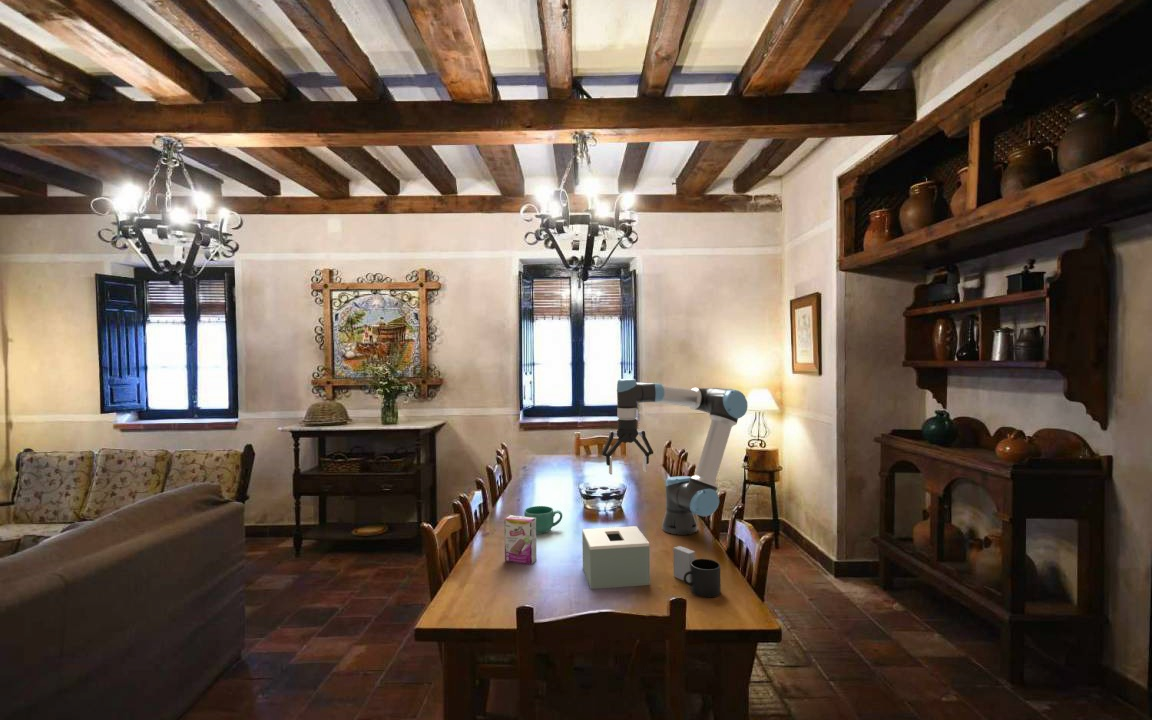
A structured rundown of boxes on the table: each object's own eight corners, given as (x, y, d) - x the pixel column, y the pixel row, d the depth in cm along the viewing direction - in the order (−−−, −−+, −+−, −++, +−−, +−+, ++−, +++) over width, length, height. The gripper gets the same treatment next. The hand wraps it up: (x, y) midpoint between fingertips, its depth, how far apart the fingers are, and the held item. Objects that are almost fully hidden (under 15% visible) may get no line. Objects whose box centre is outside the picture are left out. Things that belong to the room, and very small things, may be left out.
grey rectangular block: (679, 574, 190) (679, 545, 190) (695, 580, 184) (695, 551, 184) (673, 576, 188) (673, 547, 188) (689, 583, 182) (689, 553, 182)
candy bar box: (504, 562, 203) (503, 518, 203) (510, 557, 208) (509, 514, 207) (531, 565, 199) (531, 520, 199) (537, 560, 204) (536, 517, 204)
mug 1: (523, 536, 231) (522, 514, 231) (526, 526, 244) (526, 505, 244) (561, 536, 231) (561, 513, 231) (563, 526, 244) (562, 505, 244)
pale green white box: (636, 564, 199) (636, 526, 199) (649, 584, 181) (649, 543, 181) (582, 567, 196) (582, 529, 196) (590, 589, 179) (590, 546, 178)
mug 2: (679, 587, 179) (678, 559, 179) (714, 584, 181) (714, 557, 181) (688, 599, 170) (688, 571, 170) (725, 597, 171) (724, 568, 171)
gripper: (655, 416, 217) (656, 469, 217) (593, 418, 213) (594, 472, 214) (660, 418, 209) (661, 473, 210) (597, 420, 206) (597, 476, 206)
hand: (627, 473), depth 212 cm, fingers open, 13 cm apart
